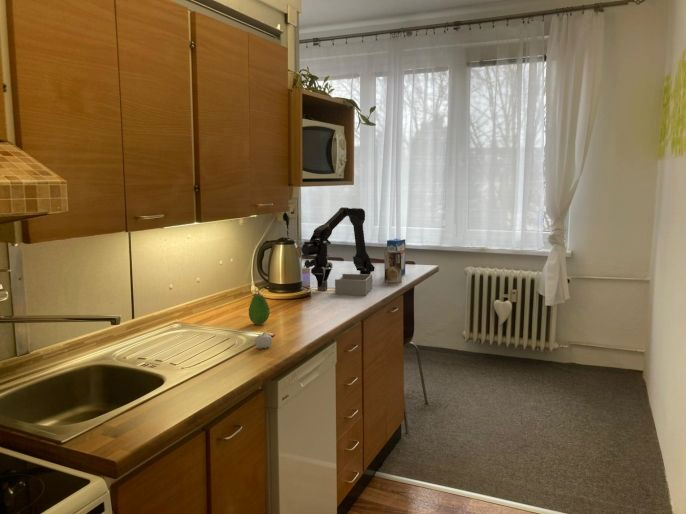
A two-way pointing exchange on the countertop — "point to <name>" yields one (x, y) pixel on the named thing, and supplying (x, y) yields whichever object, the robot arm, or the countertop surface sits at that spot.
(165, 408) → the countertop surface
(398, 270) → the coffee box
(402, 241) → the milk carton
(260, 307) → the avocado
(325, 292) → the cover plate
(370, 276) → the box
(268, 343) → the garlic
